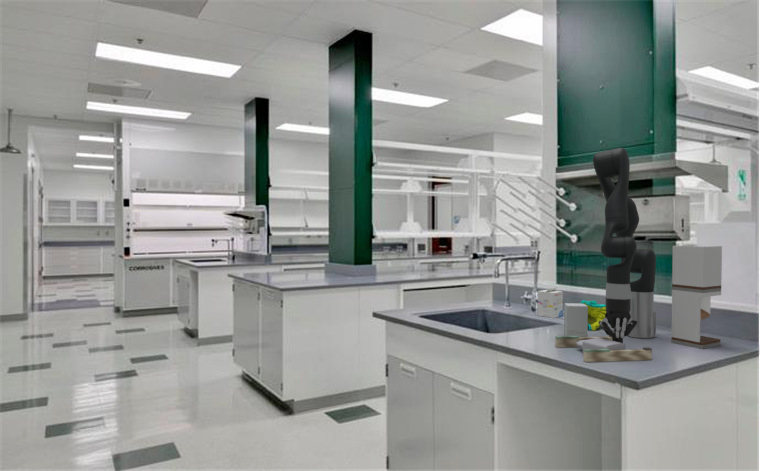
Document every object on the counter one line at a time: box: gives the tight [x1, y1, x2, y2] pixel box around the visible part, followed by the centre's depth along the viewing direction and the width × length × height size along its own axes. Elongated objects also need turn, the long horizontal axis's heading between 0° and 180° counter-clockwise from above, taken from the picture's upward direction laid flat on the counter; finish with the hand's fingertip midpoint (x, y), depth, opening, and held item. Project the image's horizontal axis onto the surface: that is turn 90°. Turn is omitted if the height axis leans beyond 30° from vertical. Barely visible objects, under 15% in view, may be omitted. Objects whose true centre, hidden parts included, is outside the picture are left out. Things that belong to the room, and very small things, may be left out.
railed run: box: [554, 335, 653, 363], centre depth 166 cm, size 22×20×4 cm
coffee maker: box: [670, 244, 723, 350], centre depth 179 cm, size 11×11×35 cm
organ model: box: [579, 299, 606, 332], centre depth 208 cm, size 15×12×13 cm
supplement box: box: [563, 302, 589, 337], centre depth 188 cm, size 7×7×13 cm
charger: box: [575, 338, 626, 353], centre depth 166 cm, size 5×9×15 cm
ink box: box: [537, 286, 564, 319], centre depth 234 cm, size 9×8×13 cm
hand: (617, 348), depth 167 cm, fingers closed
